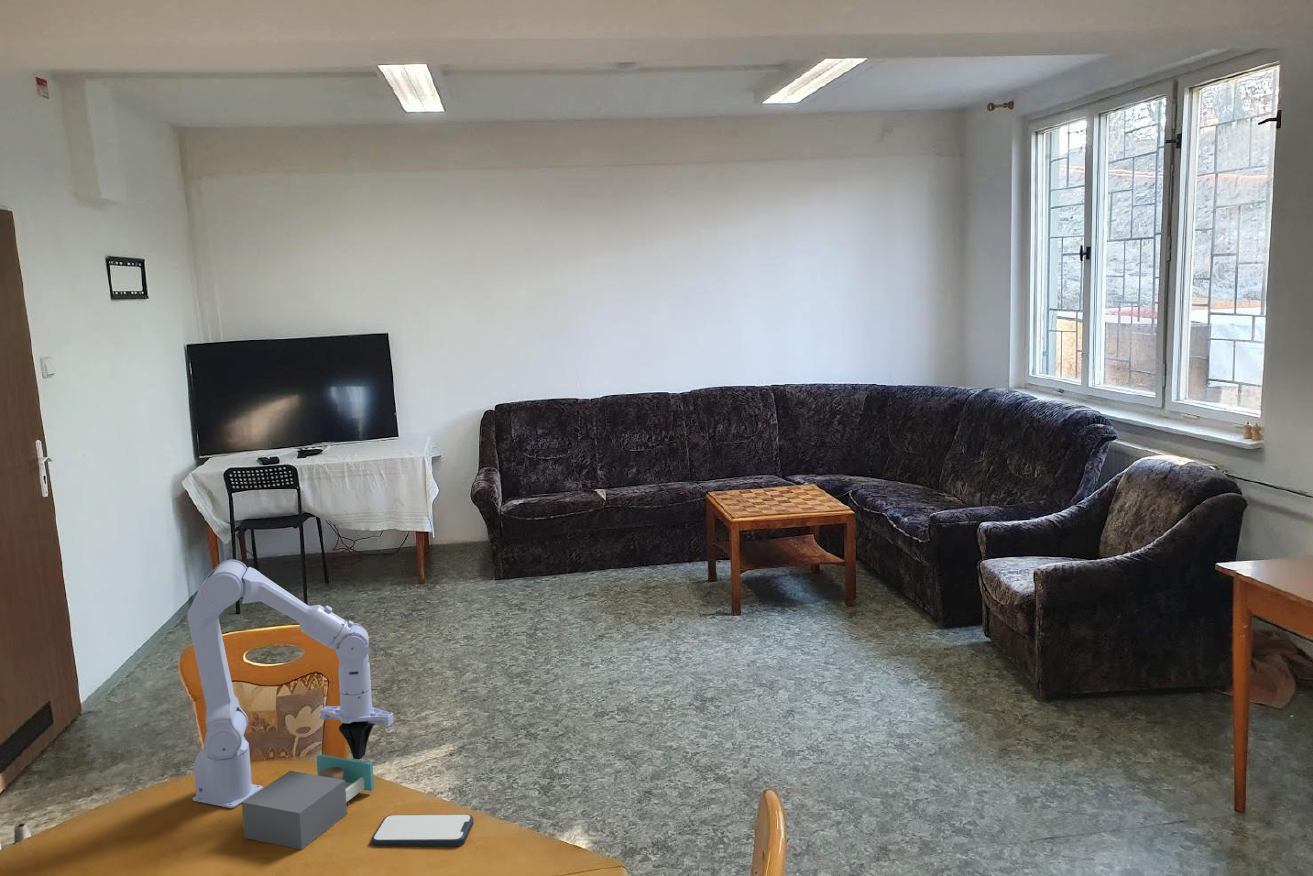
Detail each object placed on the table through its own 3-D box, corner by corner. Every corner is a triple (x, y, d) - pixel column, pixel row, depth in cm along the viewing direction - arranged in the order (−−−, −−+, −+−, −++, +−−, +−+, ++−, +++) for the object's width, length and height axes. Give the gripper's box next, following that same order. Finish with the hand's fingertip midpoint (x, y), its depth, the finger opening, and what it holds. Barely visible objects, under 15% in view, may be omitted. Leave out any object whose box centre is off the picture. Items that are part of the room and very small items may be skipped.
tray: (320, 779, 185) (319, 753, 184) (374, 789, 181) (372, 762, 180) (278, 809, 174) (276, 782, 173) (333, 820, 170) (332, 792, 169)
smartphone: (369, 850, 163) (463, 849, 162) (368, 841, 163) (462, 840, 162) (386, 822, 172) (475, 822, 171) (385, 814, 172) (474, 813, 171)
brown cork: (313, 794, 177) (312, 776, 177) (329, 783, 181) (328, 765, 181) (334, 798, 176) (333, 780, 175) (349, 787, 180) (348, 769, 180)
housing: (292, 804, 177) (289, 770, 176) (347, 814, 173) (344, 780, 173) (244, 837, 166) (241, 802, 165) (302, 849, 162) (299, 813, 161)
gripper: (309, 694, 182) (313, 762, 184) (378, 701, 179) (382, 770, 180) (331, 680, 189) (334, 746, 191) (397, 686, 185) (401, 753, 187)
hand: (359, 757), depth 186 cm, fingers closed
